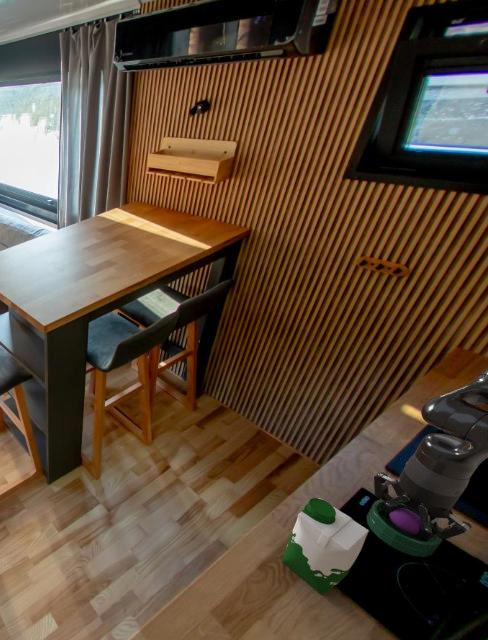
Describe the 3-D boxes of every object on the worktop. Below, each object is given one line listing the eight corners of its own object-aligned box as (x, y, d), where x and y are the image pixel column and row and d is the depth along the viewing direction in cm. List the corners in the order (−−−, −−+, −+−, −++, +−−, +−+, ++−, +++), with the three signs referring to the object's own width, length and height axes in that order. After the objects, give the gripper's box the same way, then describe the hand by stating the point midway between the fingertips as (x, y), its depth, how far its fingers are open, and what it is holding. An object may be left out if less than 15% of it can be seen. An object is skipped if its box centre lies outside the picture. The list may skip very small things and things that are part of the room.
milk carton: (297, 540, 86) (320, 487, 77) (348, 580, 78) (379, 526, 70) (274, 560, 83) (295, 507, 75) (324, 603, 75) (354, 549, 67)
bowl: (381, 506, 89) (389, 492, 87) (443, 547, 80) (454, 533, 78) (354, 523, 87) (361, 509, 85) (415, 567, 78) (425, 553, 76)
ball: (394, 512, 85) (402, 499, 83) (425, 533, 81) (434, 520, 79) (380, 521, 84) (388, 508, 82) (411, 542, 80) (420, 529, 77)
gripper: (500, 501, 70) (462, 550, 77) (396, 445, 82) (372, 492, 89) (477, 517, 68) (440, 566, 75) (374, 458, 81) (351, 504, 88)
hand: (403, 526), depth 82 cm, fingers closed on ball, 4 cm apart
